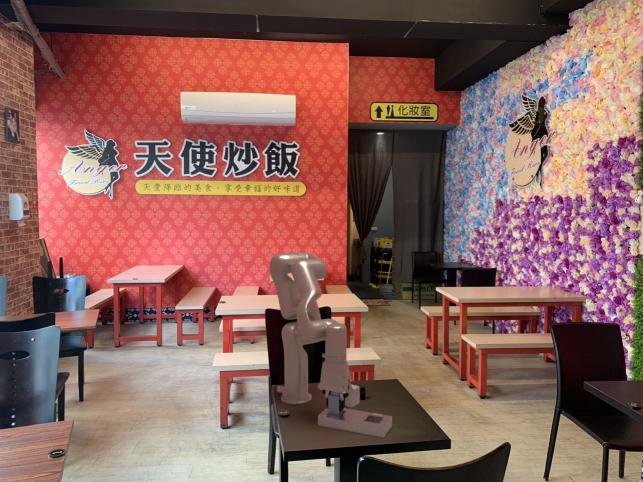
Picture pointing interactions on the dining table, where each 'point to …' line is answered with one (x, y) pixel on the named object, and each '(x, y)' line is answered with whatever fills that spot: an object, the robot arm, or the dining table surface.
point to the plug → (334, 404)
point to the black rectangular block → (363, 393)
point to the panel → (357, 422)
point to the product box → (353, 397)
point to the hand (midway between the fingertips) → (335, 408)
